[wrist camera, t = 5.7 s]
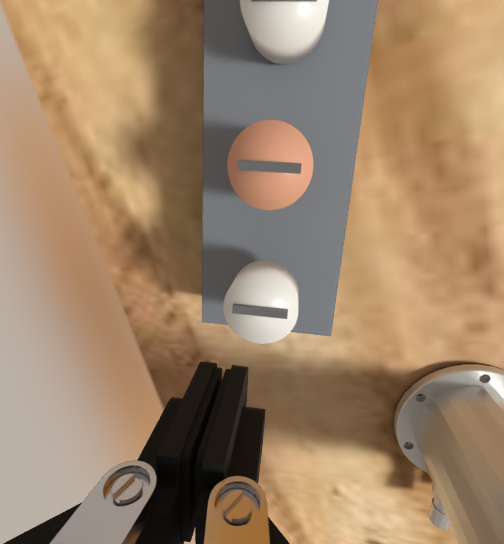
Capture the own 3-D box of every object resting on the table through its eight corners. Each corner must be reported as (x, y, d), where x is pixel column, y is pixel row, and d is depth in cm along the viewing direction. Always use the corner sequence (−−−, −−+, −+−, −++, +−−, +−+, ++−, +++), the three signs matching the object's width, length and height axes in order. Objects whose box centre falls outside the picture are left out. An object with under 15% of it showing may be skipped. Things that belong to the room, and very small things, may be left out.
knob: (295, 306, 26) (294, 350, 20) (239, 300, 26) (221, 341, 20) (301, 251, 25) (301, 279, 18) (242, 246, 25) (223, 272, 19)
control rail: (325, 309, 30) (330, 336, 25) (216, 298, 31) (202, 322, 27) (368, -16, 23) (386, -64, 18) (223, -15, 24) (204, -60, 19)
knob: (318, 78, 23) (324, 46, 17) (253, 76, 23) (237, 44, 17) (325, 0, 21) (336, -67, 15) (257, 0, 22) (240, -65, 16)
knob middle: (306, 201, 23) (308, 214, 17) (244, 196, 24) (224, 207, 18) (313, 133, 22) (318, 120, 16) (247, 130, 23) (227, 117, 16)
